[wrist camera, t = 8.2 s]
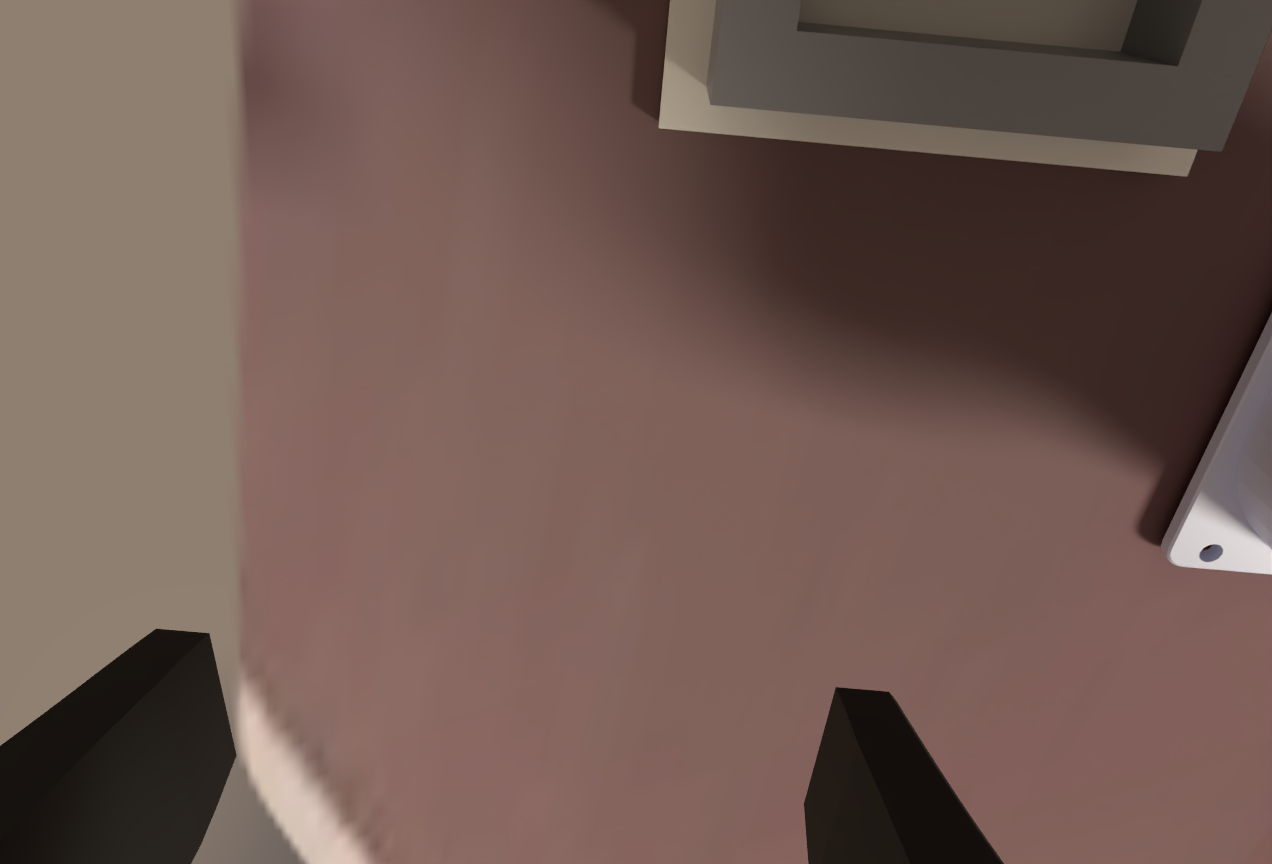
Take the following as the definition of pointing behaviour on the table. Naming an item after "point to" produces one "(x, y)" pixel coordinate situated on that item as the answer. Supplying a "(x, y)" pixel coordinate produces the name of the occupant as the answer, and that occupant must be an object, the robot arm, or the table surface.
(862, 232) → the table surface
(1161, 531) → the table surface
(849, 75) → the hub plate
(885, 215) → the table surface
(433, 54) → the table surface
